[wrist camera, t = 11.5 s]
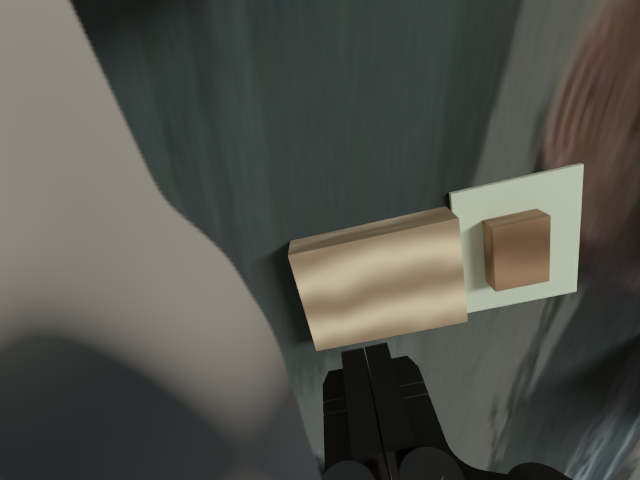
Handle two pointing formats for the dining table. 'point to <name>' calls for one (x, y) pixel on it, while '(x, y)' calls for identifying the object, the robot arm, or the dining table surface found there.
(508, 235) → the walnut tile
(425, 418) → the robot arm
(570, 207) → the sage mat
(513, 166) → the dining table surface
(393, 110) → the dining table surface
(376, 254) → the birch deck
